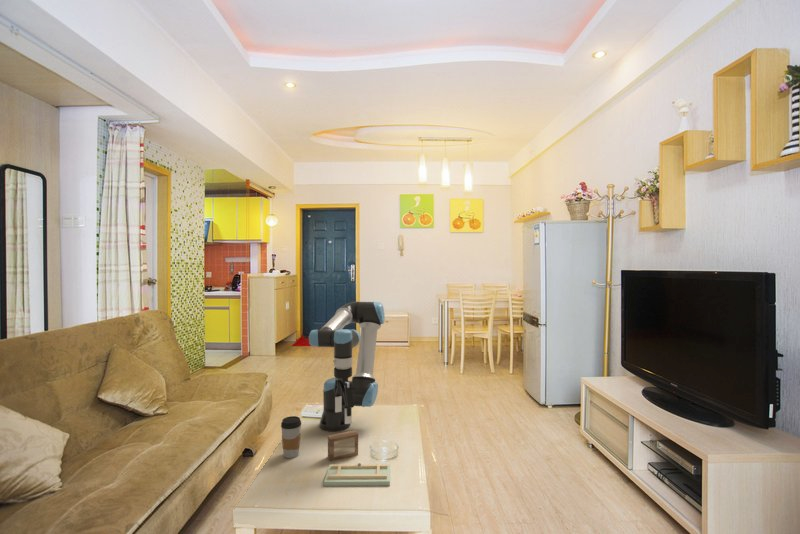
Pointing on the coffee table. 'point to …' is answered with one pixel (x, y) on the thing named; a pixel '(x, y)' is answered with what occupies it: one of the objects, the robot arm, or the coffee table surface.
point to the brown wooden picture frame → (342, 445)
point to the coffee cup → (291, 436)
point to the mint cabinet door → (357, 475)
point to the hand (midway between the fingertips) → (343, 417)
